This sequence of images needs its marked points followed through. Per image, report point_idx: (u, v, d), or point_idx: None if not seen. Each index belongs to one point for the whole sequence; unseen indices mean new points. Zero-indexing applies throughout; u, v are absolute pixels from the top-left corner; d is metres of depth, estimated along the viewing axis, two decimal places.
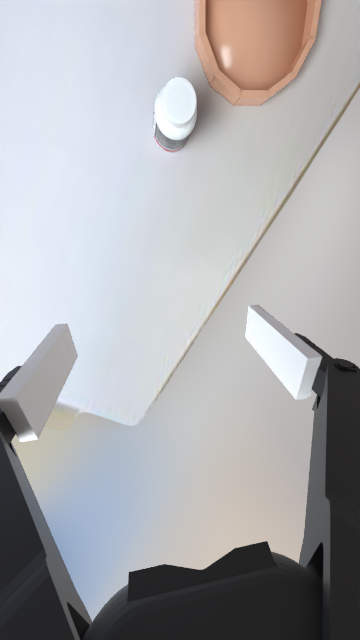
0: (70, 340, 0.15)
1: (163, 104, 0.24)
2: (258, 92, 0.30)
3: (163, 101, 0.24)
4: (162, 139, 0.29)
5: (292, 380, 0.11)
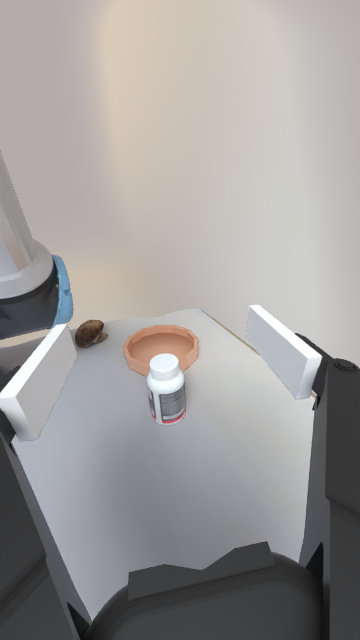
0: (70, 340, 0.15)
1: (157, 370, 0.27)
2: (191, 351, 0.43)
3: (155, 369, 0.28)
4: (170, 404, 0.29)
5: (292, 380, 0.11)
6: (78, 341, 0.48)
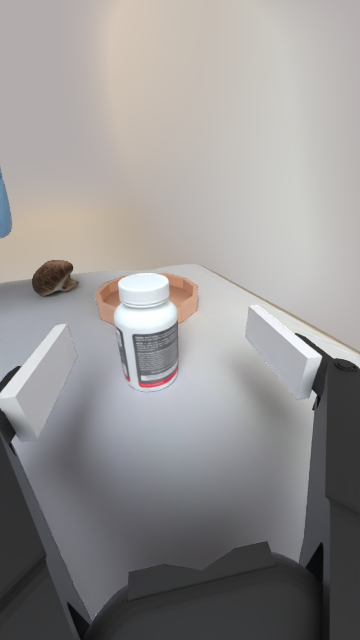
0: (70, 340, 0.15)
1: (129, 289, 0.15)
2: (189, 299, 0.31)
3: (126, 288, 0.15)
4: (153, 355, 0.17)
5: (292, 380, 0.11)
6: (35, 284, 0.35)
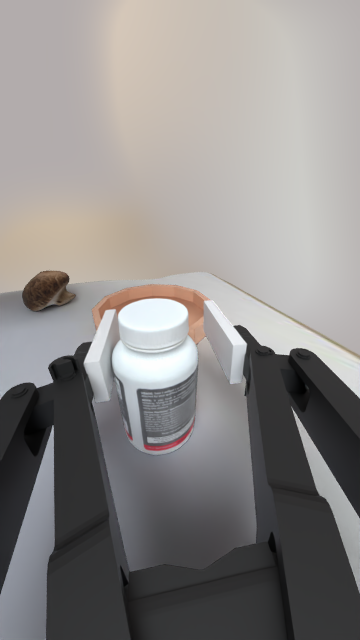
0: (117, 324, 0.17)
1: (133, 327, 0.11)
2: (202, 318, 0.26)
3: (130, 325, 0.11)
4: (165, 414, 0.12)
5: (227, 366, 0.13)
6: (25, 299, 0.31)
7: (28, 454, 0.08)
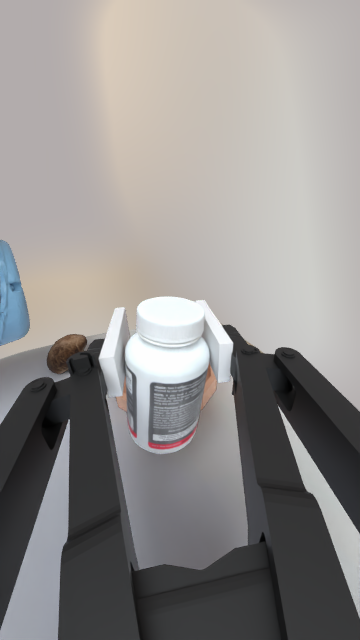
0: (126, 322, 0.17)
1: (154, 320, 0.11)
2: (208, 381, 0.30)
3: (150, 318, 0.11)
4: (175, 410, 0.12)
5: (215, 365, 0.13)
6: (50, 365, 0.35)
7: (45, 447, 0.08)
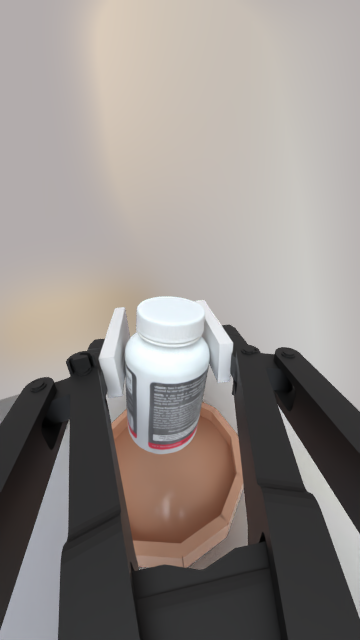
0: (126, 322, 0.17)
1: (154, 320, 0.11)
2: (234, 487, 0.20)
3: (150, 318, 0.11)
4: (175, 410, 0.12)
5: (215, 365, 0.13)
6: None
7: (45, 447, 0.08)
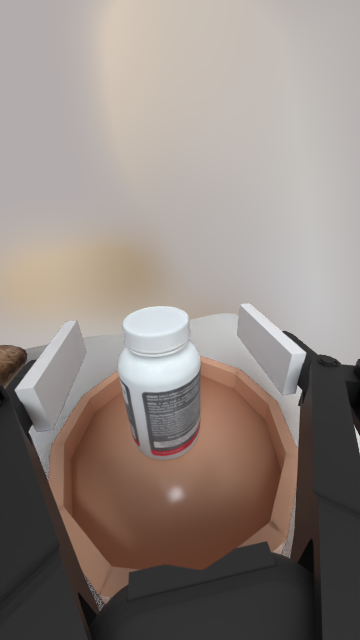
0: (80, 336, 0.15)
1: (137, 333, 0.11)
2: (286, 476, 0.12)
3: (134, 331, 0.11)
4: (170, 417, 0.13)
5: (279, 376, 0.12)
6: None
7: None
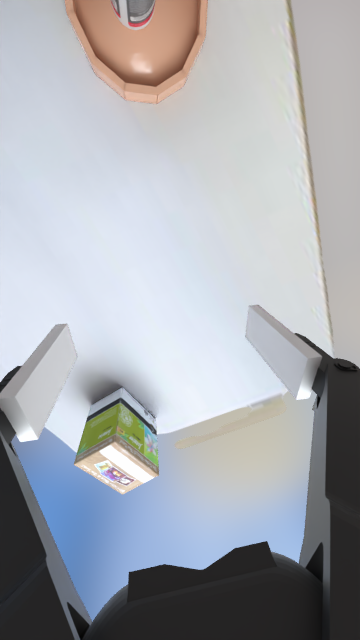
0: (70, 340, 0.15)
1: None
2: (194, 48, 0.26)
3: None
4: None
5: (292, 380, 0.11)
6: None
7: None
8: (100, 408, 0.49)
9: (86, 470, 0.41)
